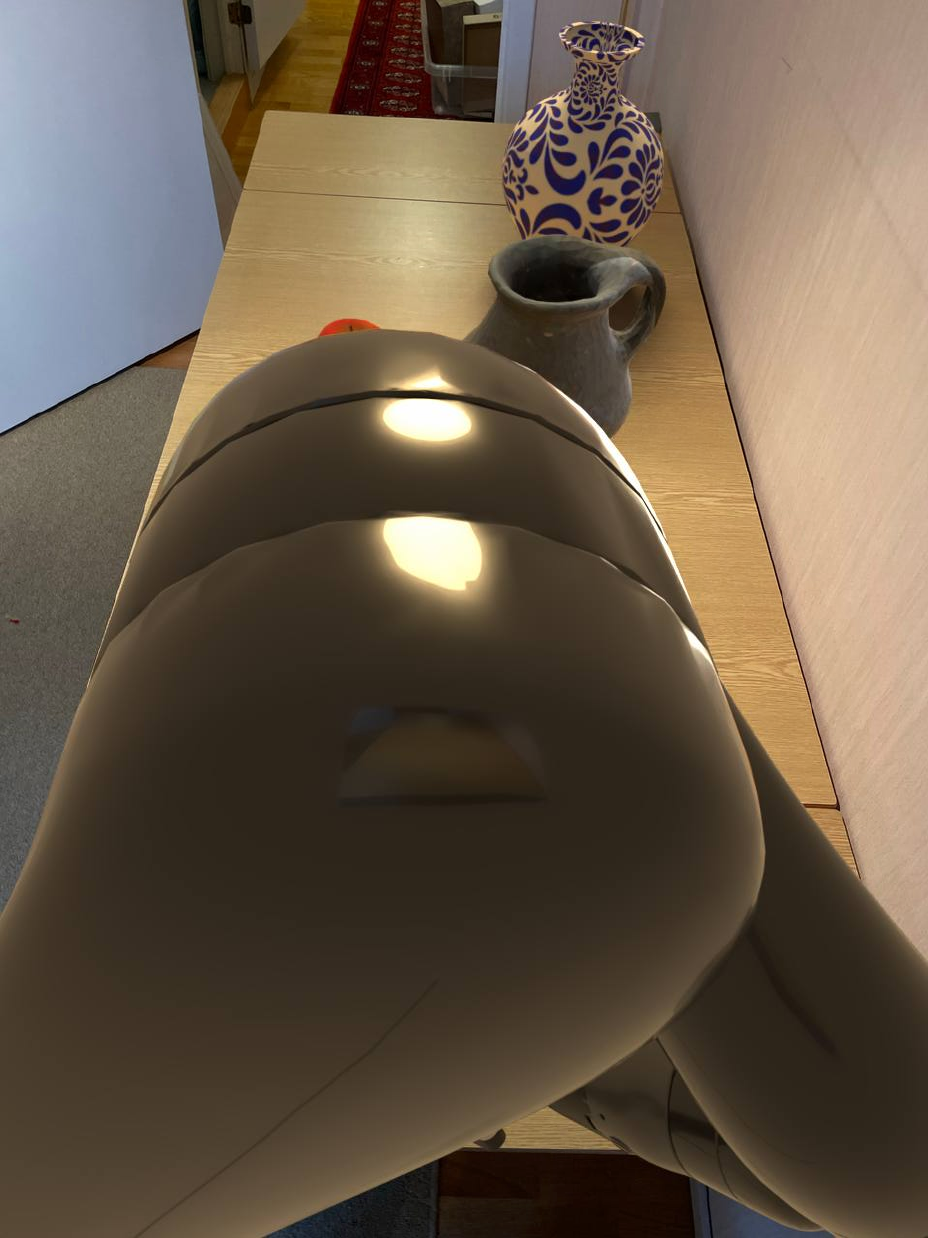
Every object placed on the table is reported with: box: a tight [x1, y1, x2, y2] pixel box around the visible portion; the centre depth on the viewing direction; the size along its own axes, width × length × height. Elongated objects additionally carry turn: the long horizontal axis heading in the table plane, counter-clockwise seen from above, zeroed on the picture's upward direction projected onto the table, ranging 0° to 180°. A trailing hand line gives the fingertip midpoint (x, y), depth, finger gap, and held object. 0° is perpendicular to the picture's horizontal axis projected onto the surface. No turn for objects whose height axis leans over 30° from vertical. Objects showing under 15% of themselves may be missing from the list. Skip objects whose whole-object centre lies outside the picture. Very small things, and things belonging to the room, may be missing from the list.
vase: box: [501, 20, 665, 248], centre depth 130 cm, size 22×22×30 cm
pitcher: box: [461, 234, 667, 441], centre depth 104 cm, size 21×22×25 cm
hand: (459, 984), depth 60 cm, fingers open, 8 cm apart
